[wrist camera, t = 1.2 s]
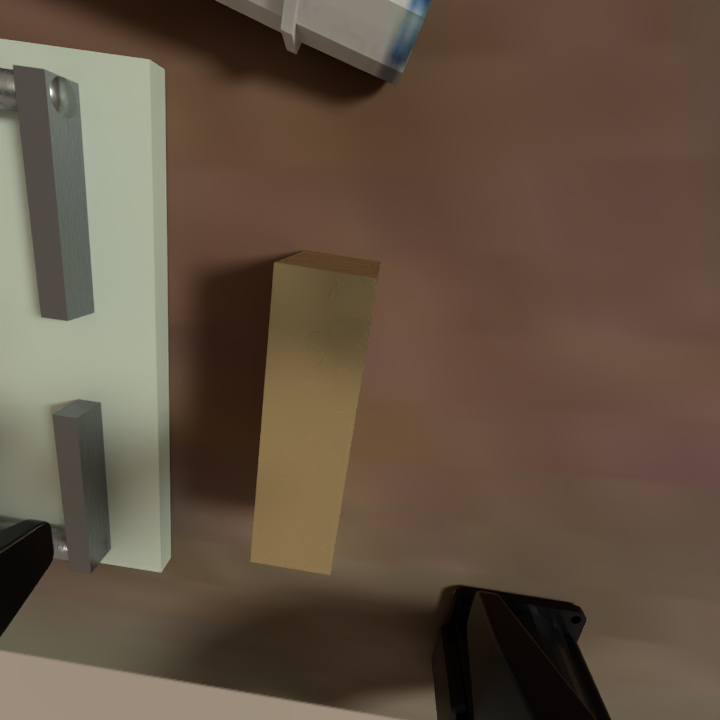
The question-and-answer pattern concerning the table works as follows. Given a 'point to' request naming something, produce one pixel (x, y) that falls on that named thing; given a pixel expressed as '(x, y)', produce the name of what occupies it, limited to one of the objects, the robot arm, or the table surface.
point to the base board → (111, 306)
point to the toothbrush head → (345, 29)
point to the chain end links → (63, 290)
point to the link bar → (310, 405)
